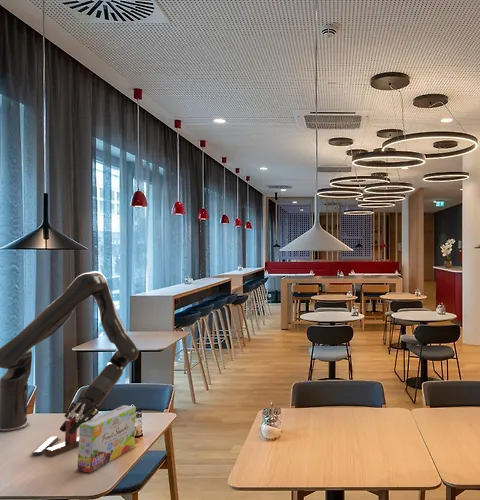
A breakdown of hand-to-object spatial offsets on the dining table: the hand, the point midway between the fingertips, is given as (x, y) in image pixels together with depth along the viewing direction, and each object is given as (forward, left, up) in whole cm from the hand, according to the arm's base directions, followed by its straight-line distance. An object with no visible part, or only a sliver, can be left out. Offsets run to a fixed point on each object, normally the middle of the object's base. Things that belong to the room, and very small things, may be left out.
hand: (65, 431), depth 165 cm
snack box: (+17, -10, -6) cm, 21 cm away
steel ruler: (-7, +3, -6) cm, 10 cm away
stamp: (+1, +1, -6) cm, 6 cm away
